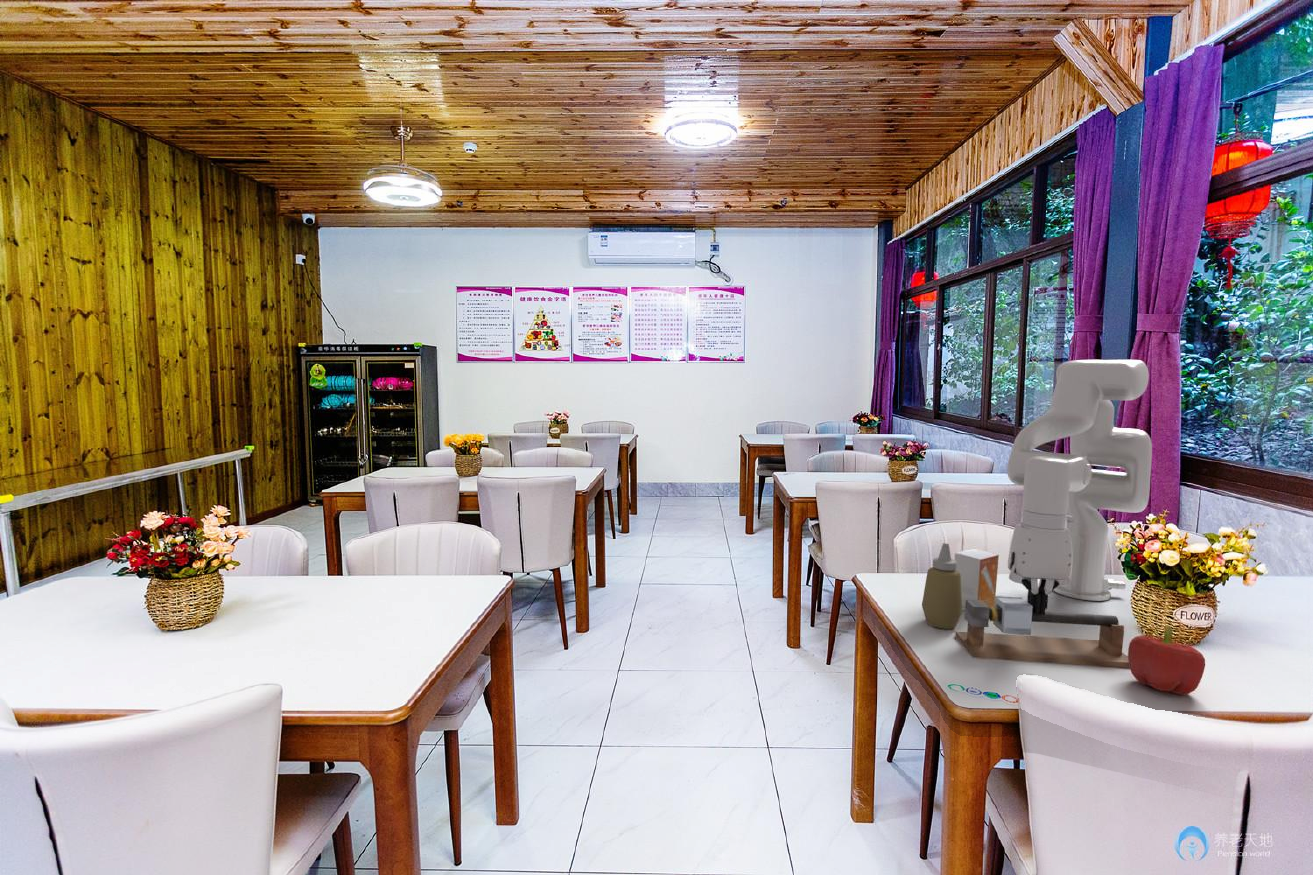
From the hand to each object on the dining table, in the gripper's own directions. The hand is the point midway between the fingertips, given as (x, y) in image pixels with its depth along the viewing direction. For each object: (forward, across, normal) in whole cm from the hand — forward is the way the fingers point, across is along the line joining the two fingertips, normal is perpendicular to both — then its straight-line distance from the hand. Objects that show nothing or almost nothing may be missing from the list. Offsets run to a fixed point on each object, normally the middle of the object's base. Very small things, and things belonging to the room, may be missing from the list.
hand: (1036, 611), depth 122 cm
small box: (+8, +3, -23) cm, 25 cm away
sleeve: (+4, +4, 0) cm, 6 cm away
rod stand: (+8, -2, 0) cm, 8 cm away
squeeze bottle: (+8, +14, -11) cm, 20 cm away
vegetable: (+8, -16, +12) cm, 22 cm away
